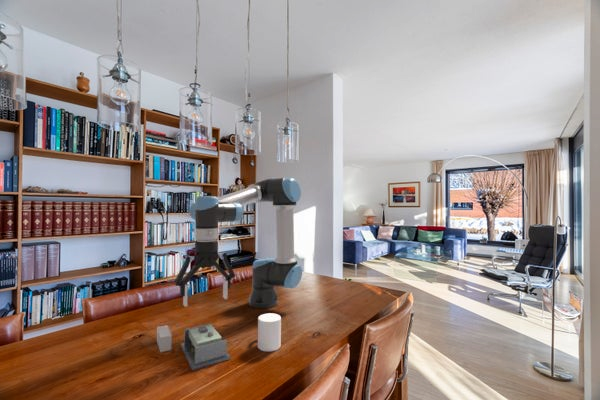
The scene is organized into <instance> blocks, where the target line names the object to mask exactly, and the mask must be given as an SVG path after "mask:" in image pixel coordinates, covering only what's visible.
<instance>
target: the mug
mask: <svg viewBox="0 0 600 400" xmlns="http://www.w3.org/2000/svg"><path fill="white" fill-rule="evenodd" d="M281 337H282V317H281V315H280V314H277V313H275V312H274V313H273V312H272V313H271V312H268V313H263V314H260V315H259V316H258V317H257V348H258V349H259V350H260V351H262V352H275V351H278V350H279V349H280V348H281V345H282V343H281V342H282V338H281Z"/></svg>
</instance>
